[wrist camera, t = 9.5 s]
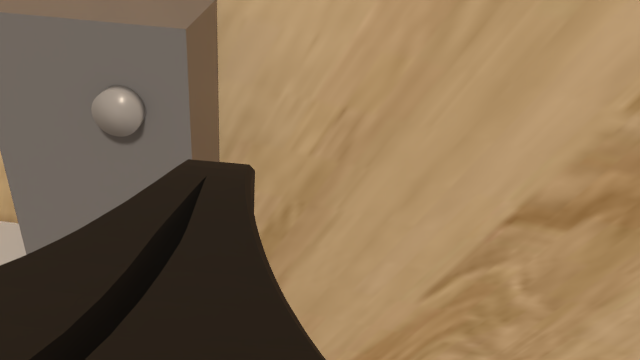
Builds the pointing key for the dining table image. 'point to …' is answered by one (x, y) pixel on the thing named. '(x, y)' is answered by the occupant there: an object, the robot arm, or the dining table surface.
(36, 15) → the camera case
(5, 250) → the side door
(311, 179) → the dining table surface
